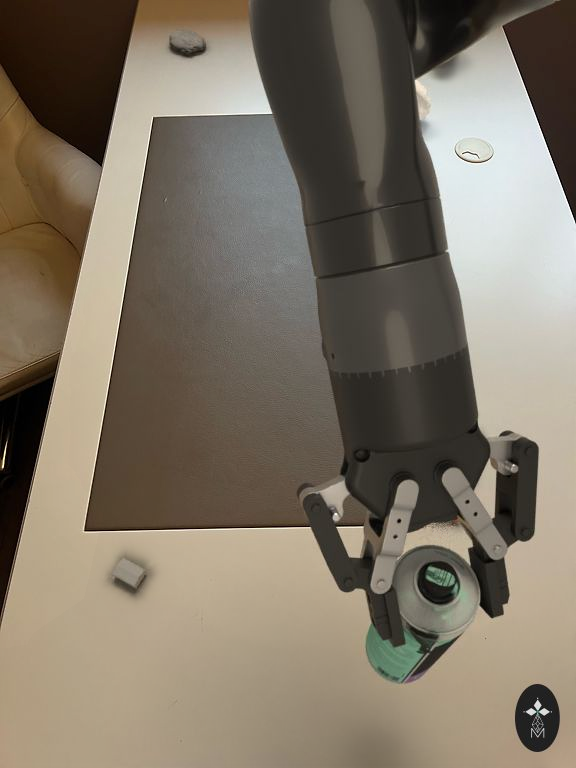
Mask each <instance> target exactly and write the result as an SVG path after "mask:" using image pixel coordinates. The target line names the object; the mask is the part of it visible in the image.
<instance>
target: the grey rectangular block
mask: <svg viewBox="0 0 576 768" xmlns="http://www.w3.org/2000/svg"><path fill="white" fill-rule="evenodd" d="M146 574H148V572H147V571H146V570H145V568H142V567H141V566H139V565H137V564H135V563H133V562H131V561H130V560H128V559H126V558H124V557H122V558H121V559H120V560H119V562H118V563H117V564H116V565H115V568H114V570H113V571H112V575H113V577H115V578H117V579H118V580H120V581H122V582H124V583H125V584H127V585H128V586H131V587H132V588H133V589H136V590H138V586H139V585H141V581H142V580H143V579H145V578H144V577H145V575H146Z"/></svg>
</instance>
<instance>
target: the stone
mask: <svg viewBox="0 0 576 768" xmlns="http://www.w3.org/2000/svg"><path fill="white" fill-rule="evenodd" d="M168 38H169V42H168V43H169V46H170V47H172V49H174V50H176V51H178V52H180V53H183V54H186V55H189V54H192V53H195V52H198V51H202V50H203V51H204V50H205V49H206V48H207V43H206V41H205V38H203V37H202V36H201V35H200V34H198V33H196V32H195V31H191V30H185V29H178V30H174V31H173V32H170V33H169V37H168Z"/></svg>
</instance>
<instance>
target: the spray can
mask: <svg viewBox="0 0 576 768" xmlns="http://www.w3.org/2000/svg"><path fill="white" fill-rule="evenodd" d="M392 586H393V587H394V589H395V590H396V594H397V599H398V605H399V610H400V615H401V620H402V626H403V631H404V636H405V642H406V644H405V645H402V646H399V647H396V648H393V646H392V645H391V643H390V641H389V639H388V640H384V641H383V640H382V639H381V637H380V636H379V634H378V633H377V631H376V629H375V627H374V625H373V624H372V622H371V621H370V625H369V627H368V630H367V633H366V636H365V644H364V645H365V646H364V647H365V655H366V659H367V661H368V663H369V665H370V667H371V668H372V670H373V671H374V672H375V673H376V675H378V677H380V678H382V679H383V680H385V681H386V682H389V683H392V684H395V685H396V684H397V685H408V684H412V683H413V682H416V681H418V680H419V679H421V678H422V677H423V676H424V675H425V674H426V673H427V672H429V670H430V669H431V668H432V667H433V666H434V665H435V664H436V662H438V661H439V659H440V658H441V657H442V656H443V655H445V653H446V652H447V651H448V650H449V649H450V648H451V647H452V646H453V645H454V643H456V641H457V640H459V638H460V637H461V636H462V635H463V634H464V633H465V632H466V631H467V630H468V629H469V627H471V625H472V624H473V622H474V621H475V618H476V617H477V614H478V610H479V607H480V605H479V604H480V587H479V582H478V580H477V577H476V574H475V573H474V571H473V569H472V568H471V565H470V563H469V562H468V561H467V559H465V558H463V557H462V555H460V554H459V553H457V552H455V551H454V550H452V549H451V548H448V547H446V546H442V545H437V544H423V545H417V546H415V547H412V548H410V549H408V550H407V551H406V552H403V553H402V555H401V556H400V557H398V558H397V562H396V566H395V570H394V575H393V579H392Z"/></svg>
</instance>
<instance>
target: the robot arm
mask: <svg viewBox="0 0 576 768" xmlns="http://www.w3.org/2000/svg"><path fill="white" fill-rule="evenodd" d="M559 1H560V0H248V20H249V30H250V37H251V42H252V48H253V53H254V58H255V61H256V66H257V70H258V73H259V76H260V80H261V83H262V86H263V89H264V93H265V96H266V99H267V102H268V105H269V108H270V111H271V115H272V117H273V120H274V123H275V126H276V129H277V131H278V135H279V138H280V140H281V143H282V146H283V149H284V152H285V154H286V157H287V160H288V162H289V164H290V167H291V170H292V172H293V175H294V178H295V181H296V184H297V187H298V191H299V195H300V196H299V197H300V203H301V211H302V212H301V213H302V218H303V225H304V227H305V228H304V230H305V235H306V240H307V246H308V250H309V251H308V252H309V255H310V260H311V266H312V271H313V276H314V277H316V278H315V279H314V280H315V281H314V282H315V289H316V297H317V314H318V324H319V329H320V336H321V343H320V345H321V351H322V356H323V358H324V359H325V362H326V366H327V371H328V377H329V381H330V384H331V385H330V387H331V390H332V395H333V400H334V405H335V410H336V416H337V421H338V425H339V431H340V436H341V440H342V446H343V461H342V464H341V466H340V469H339V470H340V471H339V475H337V476H335V477H333V478H330V479H328V480H327V481H326V480H325V481H323V482H322V483H320V484H318V485H315V484H313V483H311V482H304V483H302V484H301V485H299V486H298V487H297V489H296V498H297V500H298V503H299V504H300V507H301V509H302V511H303V514H304V517H305V518H306V521H307V523H308V525H309V528H310V529H311V532H312V534H313V537H314V538H315V542H316V543H317V545H318V548H319V550H320V553H321V555H322V557H323V559H324V561H325V563H326V566H327V569H328V570H329V572H330V574H331V576H332V578H333V580H334V582H335V584H336V586H337V588H338V589H339V591H341V592H342V593H346V594H347V593H351V592H354V591H355V590H363V591H364V594H365V598H366V599H365V600H366V603H367V604H366V605H367V608H368V613H369V618H370V623H371V622H372V624H373V625H374V627H375V629H376V631H377V633H378V634H379V636H380V637H381V639H382V640H383V641H384V640H388V639H389V641H390V643H391V645H392V646H393V648H396V647H399V646H402V645H405V644H406V642H405V636H404V631H403V626H402V620H401V615H400V610H399V605H398V599H397V594H396V590H395V589H394V587H393V586H392V579H393V575H394V570H395V566H396V562H397V560H398V559H399V558H400V557H401V556H402V555H403V554H404V548H405V544H406V540H407V536H408V534H411V533H414V532H417V531H420V530H421V529H423V528H426V527H427V526H428V525H431V524H443V523H444V524H446V523H449V522H453V520H456V519H457V520H458V523H459V525H460V526H461V528H462V529H463V531H464V533H466V535H467V537H468V539H469V540H470V541H471V543H472V546H471V547H467V552H468V558H469V565H470V566H471V568H472V569H473V571H474V573H475V574H476V577H477V580H478V582H479V587H480V604H479V607H480V608H481V610H483V612H485V614H486V615H487V616H488V617H489V618H490V619H494V618H498V617H501V616H504V613H505V611H504V605H508V604H509V601H510V596H511V595H510V594H511V593H510V588H509V581H508V580H509V579H508V573H507V568H506V567H507V566H506V560H505V556H506V555H507V553H508V549H509V548H510V547H511V546H512V545H514V544H516V542H519V541H520V542H522V543H525V542H528V541H530V540H532V538H533V537H534V535H535V533H536V517H537V515H536V514H537V496H538V492H537V491H538V479H539V478H538V477H539V476H538V475H539V474H538V473H539V458H540V457H539V456H540V455H539V454H540V448H539V445H538V444H537V443H536V441H534V440H532V439H529V438H528V437H526V436H524V435H523V434H520V433H517V432H514V431H512V430H507V429H506V430H504V431H502V432H500V433H499V435H498V436H485V435H484V434H483V432H482V431H481V429H480V427H479V409H478V402H477V395H476V389H475V383H474V376H473V370H472V361H471V354H470V349H469V342H468V337H467V329H466V321H465V316H464V309H463V302H462V297H461V292H460V288H459V284H458V281H457V278H456V275H455V271H454V268H453V265H452V260H451V255H450V252H449V251H448V250H449V245H448V237H447V236H448V235H447V231H446V225H445V218H444V217H445V216H444V211H443V205H442V199H441V192H440V187H439V182H438V177H437V173H436V169H435V165H434V162H433V158H432V155H431V153H430V150H429V148H428V146H427V143H426V142H425V139H424V135H423V131H422V128H421V127H422V126H421V121H420V118H419V110H418V102H417V94H416V86H415V80H418V79H420V78H422V77H423V76H425V75H426V74H428V73H430V72H432V71H433V70H435V69H437V68H438V67H440V66H441V65H443V64H445V63H447V62H449V61H450V60H452V59H453V58H454V57H456V56H458V55H459V54H461V53H463V52H464V51H466V50H468V49H469V48H471V47H472V46H474V45H475V44H477V43H478V42H480V41H481V40H482V39H484V38H485V37H487V36H489V34H491V33H493V32H494V31H496V30H498V29H499V28H501V27H502V26H503V27H504V26H505V25H506V24H508V23H511V22H512V21H515V20H517V19H519V18H521V17H523V16H527V15H529V14H531V13H534V12H537V11H539V10H542V9H544V8H546V7H548V6H551V5H553V4H554V3H556V2H559ZM448 60H449V61H448ZM446 61H447V62H446ZM489 460H490V466H491V467H492V469H493V470H495V474H496V475H495V494H494V495H495V496H494V517H491V515H490V514H489V513H488V511H487V509H486V508H485V506H484V505H483V503H482V501H481V500H480V499H479V497H478V496H477V494H476V493H475V490H476V487H477V486H478V484H479V482H480V479H481V478H482V476H483V472H484V470H485V468H486V466H487V464H488V462H489ZM349 495H350V496H351V497H353V498H354V499H355V500H356V501H357V502H359V504H361V505H362V506H363V507H364V508H366V513H365V519H364V523H363V529H362V530H363V541H362V546H361V550H360V555H359V557H354V556H353V557H351V556H349V553H348V550H347V548H346V546H345V543H344V541H343V539H342V536H341V535H340V532H339V530H338V528H337V526H336V523H338V522H340V521H341V520H342V519H343V516H344V513H345V512H344V510H345V509H344V501H345V499H347V497H349Z"/></svg>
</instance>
